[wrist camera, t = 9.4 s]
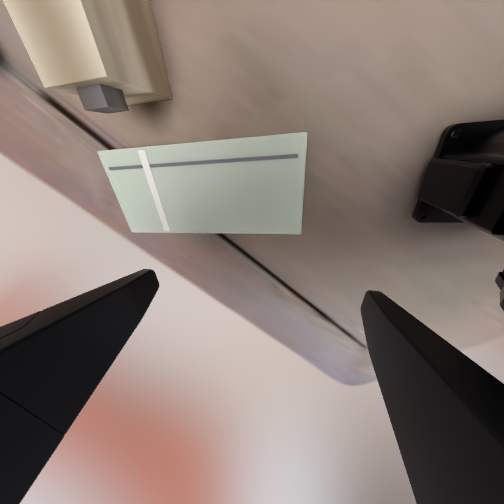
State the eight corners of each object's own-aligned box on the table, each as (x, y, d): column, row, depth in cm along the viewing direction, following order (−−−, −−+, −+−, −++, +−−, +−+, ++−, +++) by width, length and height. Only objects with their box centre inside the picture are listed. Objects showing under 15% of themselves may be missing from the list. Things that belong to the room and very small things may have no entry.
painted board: (305, 133, 14) (307, 131, 12) (300, 222, 17) (301, 234, 15) (121, 149, 17) (95, 151, 15) (148, 222, 20) (131, 232, 18)
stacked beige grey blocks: (138, -56, 11) (1, -229, 6) (176, 114, 15) (116, 101, 10) (82, -37, 12) (-81, -174, 7) (132, 120, 16) (56, 110, 11)
